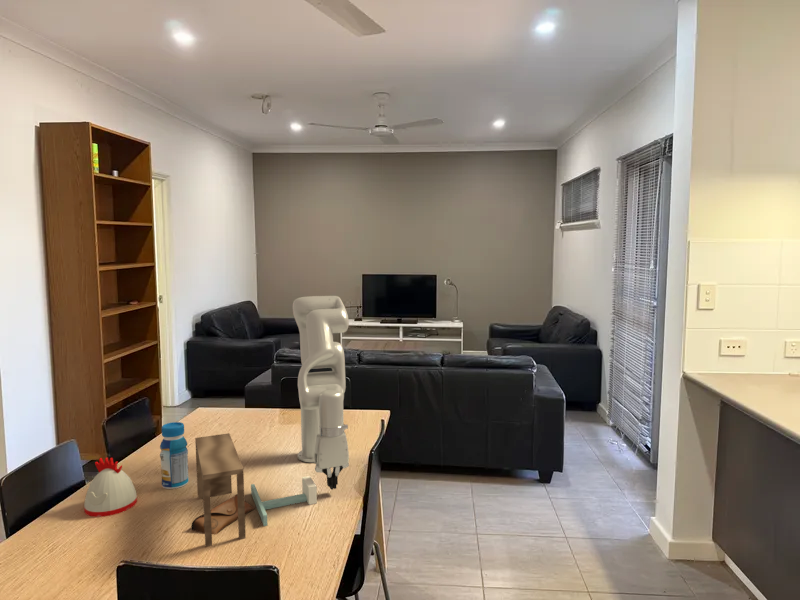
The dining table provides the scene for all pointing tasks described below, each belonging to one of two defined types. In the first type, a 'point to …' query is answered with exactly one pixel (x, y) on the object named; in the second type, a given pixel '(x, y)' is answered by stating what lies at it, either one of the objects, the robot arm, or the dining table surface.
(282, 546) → the dining table surface
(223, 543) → the dining table surface
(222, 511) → the sunglasses case
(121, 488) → the kitchen timer
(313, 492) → the mint t-bar
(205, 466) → the tunnel
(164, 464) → the beverage bottle
